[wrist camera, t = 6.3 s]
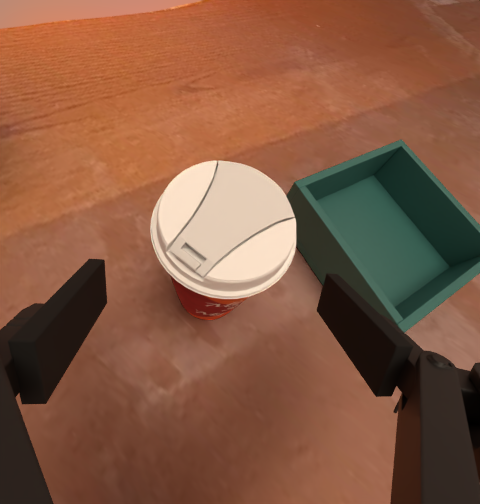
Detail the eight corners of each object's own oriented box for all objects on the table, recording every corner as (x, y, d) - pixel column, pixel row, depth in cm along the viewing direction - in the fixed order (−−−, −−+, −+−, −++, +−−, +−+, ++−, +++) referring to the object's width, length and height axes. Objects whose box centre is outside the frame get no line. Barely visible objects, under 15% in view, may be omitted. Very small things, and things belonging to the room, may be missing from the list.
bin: (275, 215, 30) (294, 181, 25) (368, 173, 36) (401, 139, 30) (359, 340, 26) (404, 333, 21) (451, 272, 32) (505, 253, 26)
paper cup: (214, 350, 24) (247, 329, 11) (148, 296, 24) (108, 217, 12) (263, 284, 27) (332, 209, 14) (204, 238, 28) (219, 128, 15)
